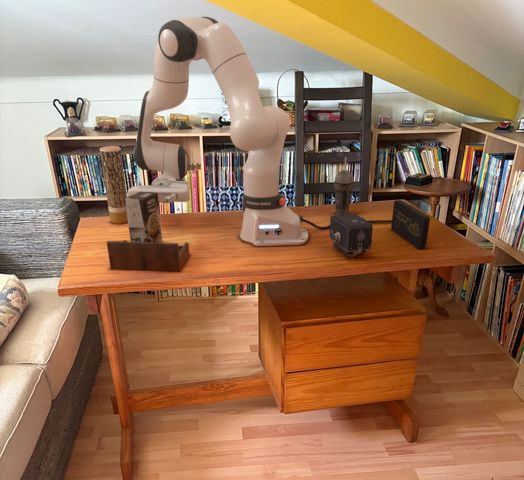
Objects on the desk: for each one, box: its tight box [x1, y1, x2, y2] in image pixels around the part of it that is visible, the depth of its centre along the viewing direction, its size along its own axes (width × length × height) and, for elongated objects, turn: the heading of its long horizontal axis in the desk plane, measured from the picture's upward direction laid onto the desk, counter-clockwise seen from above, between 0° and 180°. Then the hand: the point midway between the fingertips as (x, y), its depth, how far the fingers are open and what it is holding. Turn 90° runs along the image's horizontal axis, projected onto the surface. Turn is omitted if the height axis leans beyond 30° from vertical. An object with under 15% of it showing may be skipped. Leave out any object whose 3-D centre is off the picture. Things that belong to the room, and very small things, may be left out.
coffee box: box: [125, 191, 164, 243], centre depth 166 cm, size 9×6×16 cm
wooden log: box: [99, 145, 128, 225], centre depth 186 cm, size 7×7×25 cm
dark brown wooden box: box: [106, 240, 190, 273], centre depth 156 cm, size 20×13×8 cm, turn 84°
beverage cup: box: [333, 156, 355, 215], centre depth 195 cm, size 7×7×20 cm
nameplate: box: [390, 199, 431, 250], centre depth 173 cm, size 21×2×10 cm, turn 13°
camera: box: [328, 213, 374, 258], centre depth 162 cm, size 11×11×15 cm
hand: (153, 200), depth 173 cm, fingers open, 8 cm apart
